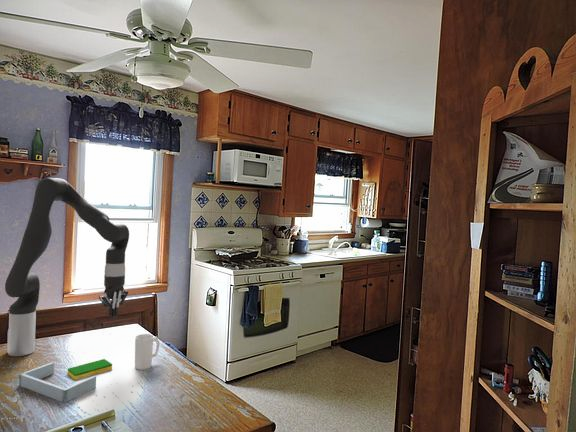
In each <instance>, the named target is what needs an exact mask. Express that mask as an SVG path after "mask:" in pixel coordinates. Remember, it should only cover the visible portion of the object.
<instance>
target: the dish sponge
mask: <svg viewBox="0 0 576 432" xmlns="http://www.w3.org/2000/svg"><path fill="white" fill-rule="evenodd" d="M112 369H113V363H111V362H110V361H108V360H107V359H105V358H103V359H99V360H95V361H92V362H87V363H84V364H80V365H76V366H72V367H68V368H67V375H68V376H70V377H71V378H72V379H73V380H79V379H84V378H88V377H91V376H95V375H97V374H100V373H104V372H108V371H110V370H112Z"/></svg>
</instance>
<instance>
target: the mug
mask: <svg viewBox="0 0 576 432" xmlns="http://www.w3.org/2000/svg"><path fill="white" fill-rule="evenodd" d="M134 338H135V339H134V340H135V341H134V342H135V343H134V347H135V348H134V368H135V369H137V370H141V371H142V370H148V369H150V368H151V367H152V362H153V358H155V357H157V355H158V352H159V350H160V341H159V339H158V338H159V337H158V336H154V335H153V334H151V333H150V334H149V333H142V334H137V335H136V336H135V337H134ZM154 342H155V344H156V347H155V350H154V352H153V349H154Z"/></svg>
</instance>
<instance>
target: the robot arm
mask: <svg viewBox="0 0 576 432" xmlns="http://www.w3.org/2000/svg"><path fill="white" fill-rule="evenodd" d="M59 201H60V202H63V203H64V204H67V205H68V206H69V207H70V208H72V209H74V211H75V212H76V214H77V216H78V217H79V218H80V219H81V220H82V221H83V222H85V224H87V225H89V226H90V227H92V228H93V229H95V230H96V232H97V233H98V235H99V236H100V237H102V238H103V239H104V240H105V241H106V242H109V243H111V245H110V247H108V248H107V249H106V251H105V266H104V278H103V279H104V280H103V281H104V282H103V286H104V291H103V294H101V295H99V296H98V299H99V301H100V302H101V304H102V305H103V306H104V308H107V309H108V317H110V318H113V319H114V318H116V317H118V314H119V307H120V306H122V305H123V304H124V302H125V300H126V297H128V295H129V291H127V290H125V288H124V287H125V282H126V281H125V280H126V264H125V263H126V250H127V248H128V243H129V240H130V230H129V228H128V226H127V225H126V224H124V223H116V224H114V223H112V222H111V221H110V217H109V215H108V214H106V213H104V212H103V211H102V210H100V209H99V208H97V207H96V206H94V205H93V203H91V202H89V201H88V200H87V199H86V198H84V196H82V195H81V194H80V193H79V192H78V191H77V190H76V189H75V188H74V187H73V185H72V184H70V183H69V182H68V181H67V180H65V179H63V178H60V177H59V178H58V177H44V178H42V179H40V181H39V182H38V183H37V185H36V189H35V193H34V198H33V201H32V202H33V203H32V207H31V211H30V215H29V218H28V221H27V224H26V228H25V230H24V233H23V236H22V238H21V243H20V247H19V250H18V251H17V254H16V257H15V260H14V263H13V264H12V267H11V269H10V271H9V273H8V275H7V277H6V280H5V284H4V289H5V290H4V291H5V293H6V295H7V296H8V297H10V298H17V299H16V301H14V302H13V303H12V304H11V305H10V306H9V310H8V314H9V315H8V330H7V347H6V353H7V355H8V356H10V357H22V356H27V355H30V354H33V353H34V352H35V351H36V350H35V347H36V346H35V344H36V322H37V321H36V320H37V319H36V318H37V314H36V313H37V306H38V304H39V299H40V288H41V285H40V284H41V283H40V278H39V276H38V275H37V274H36V273H35V272H33V271H31V269H32V266H33V265H35V264H36V262H37V261H38V259H39V258H41V256H42V255H43V254H44V253H45V251H47V248H48V246H49V243H50V240H51V237H52V234H53V230H52V229H53V228H52V224H51V221H50V214H51V213H50V212H51V210H52V208H53V207H52V206H53V204H54V202H59Z"/></svg>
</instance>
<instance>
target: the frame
mask: <svg viewBox="0 0 576 432" xmlns="http://www.w3.org/2000/svg"><path fill="white" fill-rule="evenodd" d="M54 373H55V362H53V361H52V362H49V363H47V364H44V365H41V366H38V367H36V368H33V369H30V370H27V371H25V372H22V373H19V376H18V377H19V381H18V386H20V387H21V388H25V389H27V390H30V391H32V392H34V393H35V392H36V393H37V394H41V395H43V396H45V397H48V398H51V399H54V400H56V401H59V402H62V403H66V402H69V401H71V400H73V399H75V398H77V397H79V396H81V395H83V394H85V393H87V392H90V391H92V390H94V389H95V388H97V375H92V376H89V378H88V377H87V378H86V379H84V380H82V381H79V382H77V383H75V384H72V385H71V386H68V387H63V386H60V385H57V384H54V383H52V382H49V381H45V380H43V378H45V377H48V376H50V375H53V374H54Z"/></svg>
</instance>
